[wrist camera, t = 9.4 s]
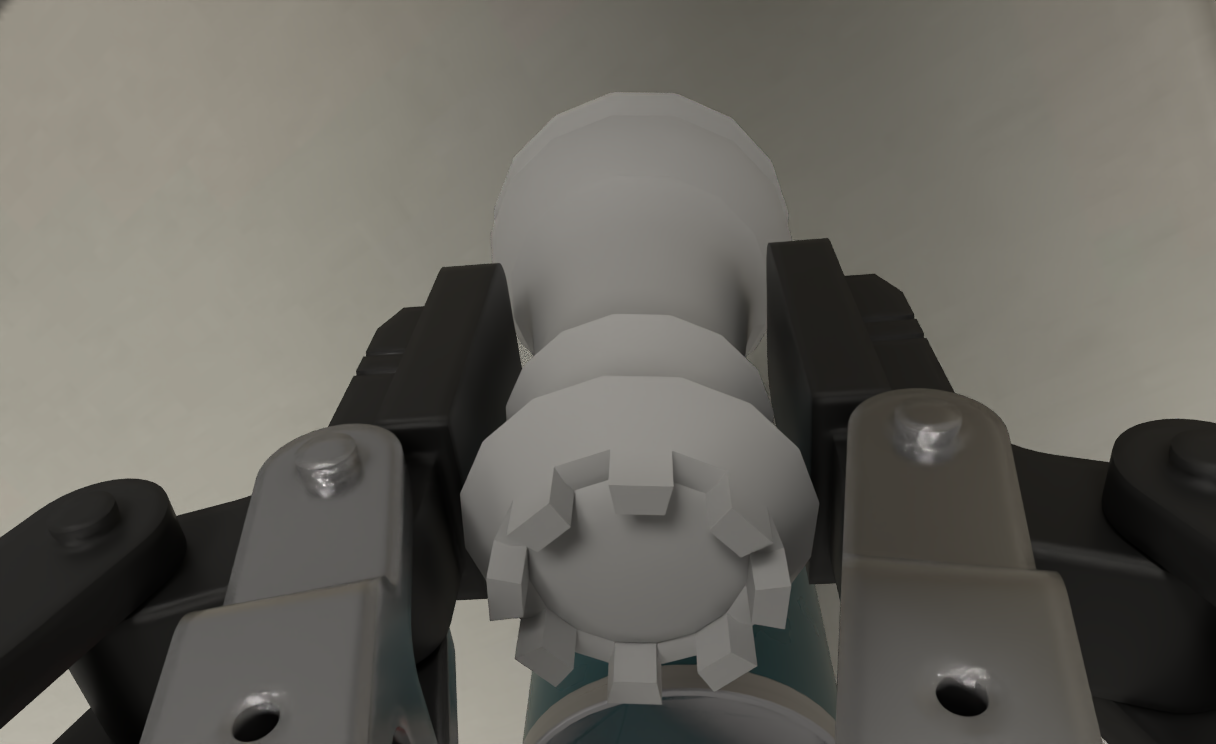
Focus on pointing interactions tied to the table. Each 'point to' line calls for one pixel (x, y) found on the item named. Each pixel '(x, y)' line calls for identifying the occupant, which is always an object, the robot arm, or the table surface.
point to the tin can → (705, 694)
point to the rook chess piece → (639, 401)
